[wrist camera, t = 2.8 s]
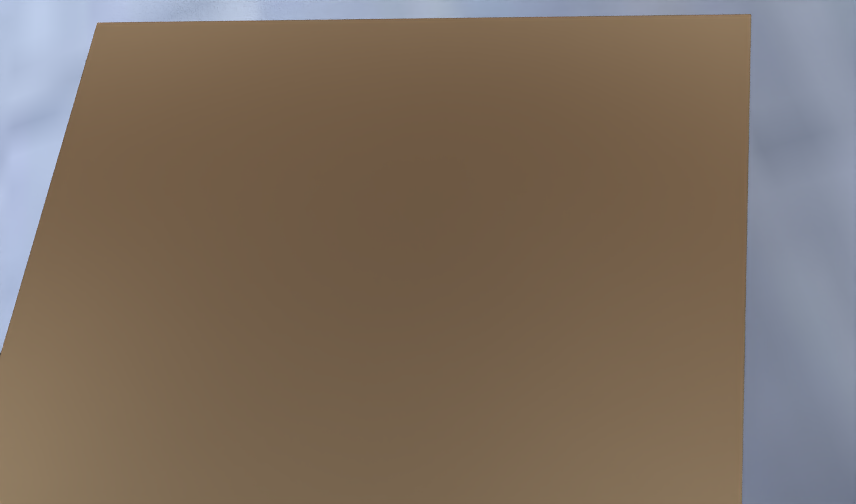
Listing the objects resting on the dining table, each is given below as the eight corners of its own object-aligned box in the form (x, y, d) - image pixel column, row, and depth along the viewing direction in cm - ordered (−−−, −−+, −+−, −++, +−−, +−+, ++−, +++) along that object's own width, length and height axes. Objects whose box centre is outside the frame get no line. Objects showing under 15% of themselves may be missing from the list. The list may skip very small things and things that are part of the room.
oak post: (635, 591, 14) (734, 925, 3) (410, 553, 15) (-103, 703, 4) (648, 360, 16) (751, 13, 4) (438, 340, 17) (96, 23, 5)
